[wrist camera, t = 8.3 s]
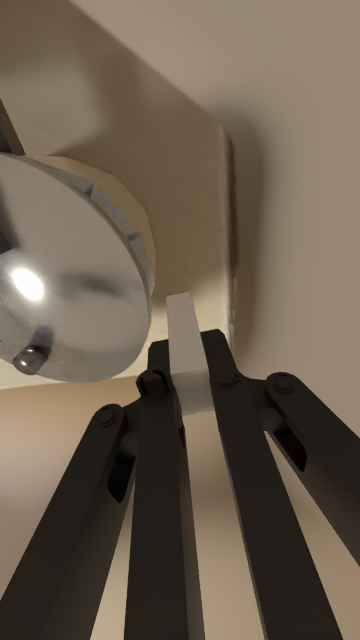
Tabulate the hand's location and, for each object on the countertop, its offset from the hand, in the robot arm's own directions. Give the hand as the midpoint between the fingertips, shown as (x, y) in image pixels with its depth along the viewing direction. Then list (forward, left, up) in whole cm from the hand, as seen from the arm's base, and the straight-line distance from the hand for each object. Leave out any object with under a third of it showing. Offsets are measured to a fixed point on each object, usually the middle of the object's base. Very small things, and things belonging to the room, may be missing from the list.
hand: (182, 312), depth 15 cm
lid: (-10, +3, -3) cm, 11 cm away
